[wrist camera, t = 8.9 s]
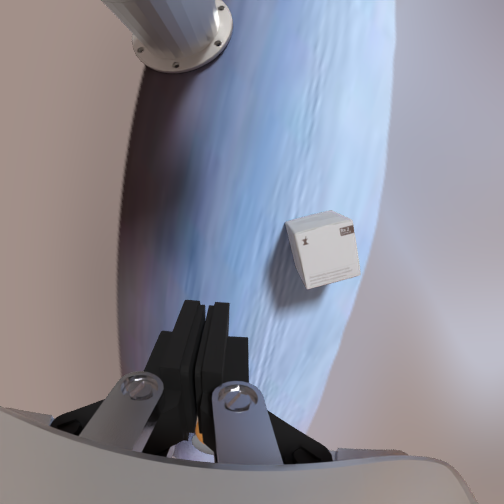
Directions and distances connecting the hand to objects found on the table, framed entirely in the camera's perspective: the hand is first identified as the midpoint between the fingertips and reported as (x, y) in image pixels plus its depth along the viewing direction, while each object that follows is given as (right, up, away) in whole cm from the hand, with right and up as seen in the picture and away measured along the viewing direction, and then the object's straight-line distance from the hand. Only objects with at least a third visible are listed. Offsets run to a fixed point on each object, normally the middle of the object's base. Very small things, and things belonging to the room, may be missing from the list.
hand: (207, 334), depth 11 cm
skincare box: (+9, +5, +25) cm, 27 cm away
